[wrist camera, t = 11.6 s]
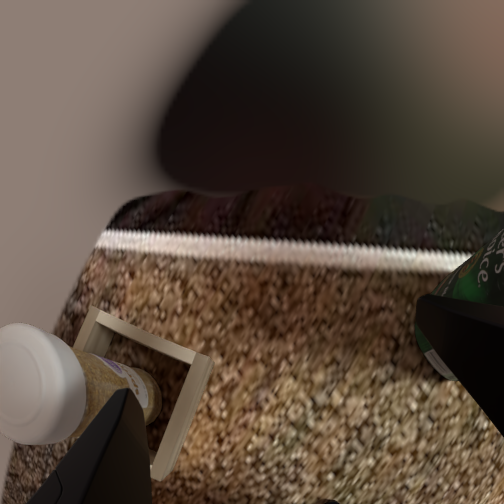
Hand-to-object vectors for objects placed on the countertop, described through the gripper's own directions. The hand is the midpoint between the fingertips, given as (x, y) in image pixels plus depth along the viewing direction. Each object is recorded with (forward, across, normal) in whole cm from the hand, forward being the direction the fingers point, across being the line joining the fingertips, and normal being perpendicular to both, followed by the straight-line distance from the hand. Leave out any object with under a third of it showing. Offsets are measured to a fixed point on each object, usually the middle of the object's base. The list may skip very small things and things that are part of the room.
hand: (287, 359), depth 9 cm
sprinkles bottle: (+10, +9, +9) cm, 17 cm away
